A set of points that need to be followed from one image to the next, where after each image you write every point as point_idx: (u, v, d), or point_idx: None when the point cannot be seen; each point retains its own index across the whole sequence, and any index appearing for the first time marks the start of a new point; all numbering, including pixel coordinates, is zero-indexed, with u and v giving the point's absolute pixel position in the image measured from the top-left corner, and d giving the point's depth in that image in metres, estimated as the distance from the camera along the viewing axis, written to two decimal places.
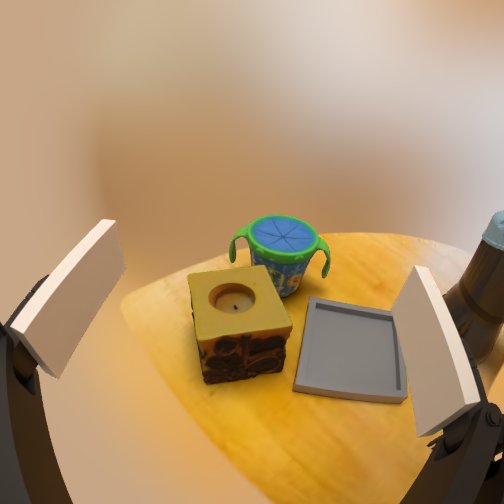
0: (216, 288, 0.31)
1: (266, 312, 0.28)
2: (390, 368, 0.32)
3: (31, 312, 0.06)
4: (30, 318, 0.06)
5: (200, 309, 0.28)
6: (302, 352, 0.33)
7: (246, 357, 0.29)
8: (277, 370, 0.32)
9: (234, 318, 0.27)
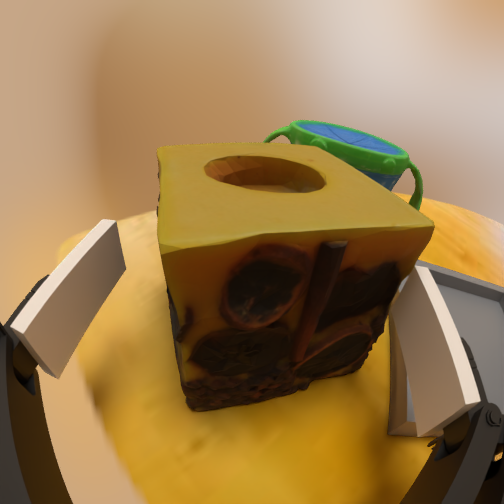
0: (223, 163, 0.12)
1: (363, 197, 0.10)
2: None
3: (31, 312, 0.06)
4: (30, 318, 0.06)
5: (182, 182, 0.09)
6: None
7: (310, 334, 0.10)
8: (354, 368, 0.14)
9: (286, 200, 0.09)
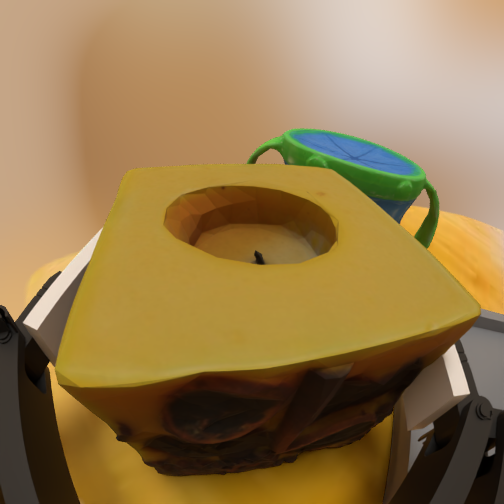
0: (200, 197, 0.09)
1: (389, 265, 0.07)
2: None
3: (45, 308, 0.07)
4: (44, 314, 0.06)
5: (124, 240, 0.06)
6: None
7: (293, 438, 0.07)
8: (352, 441, 0.10)
9: (266, 283, 0.06)
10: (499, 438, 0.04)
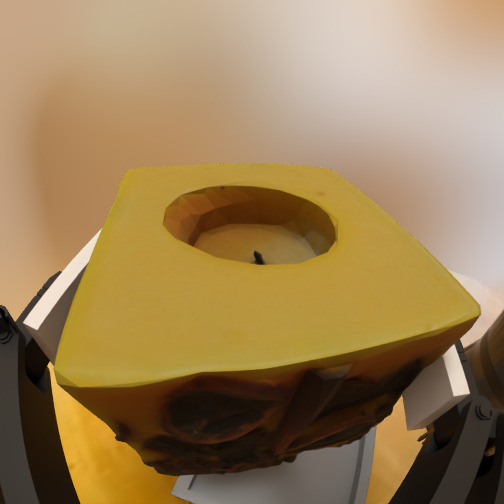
0: (199, 197, 0.09)
1: (388, 266, 0.07)
2: (344, 482, 0.16)
3: (45, 308, 0.07)
4: (44, 314, 0.06)
5: (123, 240, 0.06)
6: None
7: (292, 438, 0.07)
8: (352, 441, 0.10)
9: (265, 283, 0.06)
10: (499, 439, 0.04)
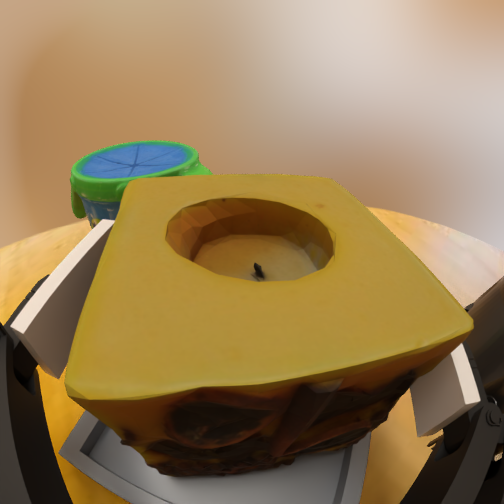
0: (201, 209, 0.10)
1: (383, 282, 0.07)
2: (324, 475, 0.11)
3: (31, 312, 0.06)
4: (30, 318, 0.06)
5: (127, 256, 0.07)
6: None
7: (289, 443, 0.07)
8: (348, 445, 0.10)
9: (263, 301, 0.06)
10: None
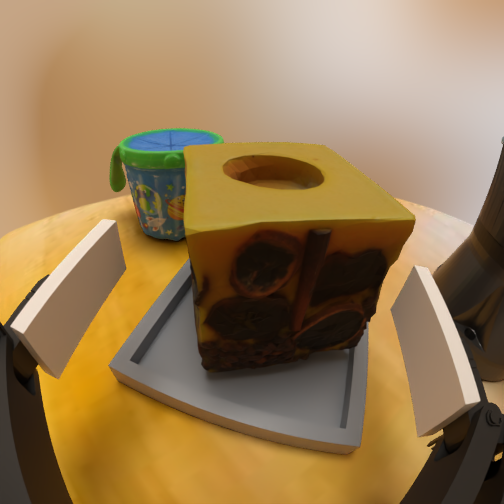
0: (239, 161, 0.15)
1: (354, 193, 0.12)
2: (334, 377, 0.16)
3: (31, 312, 0.06)
4: (30, 318, 0.06)
5: (203, 180, 0.12)
6: (147, 314, 0.17)
7: (305, 306, 0.12)
8: (350, 344, 0.16)
9: (285, 196, 0.11)
10: None
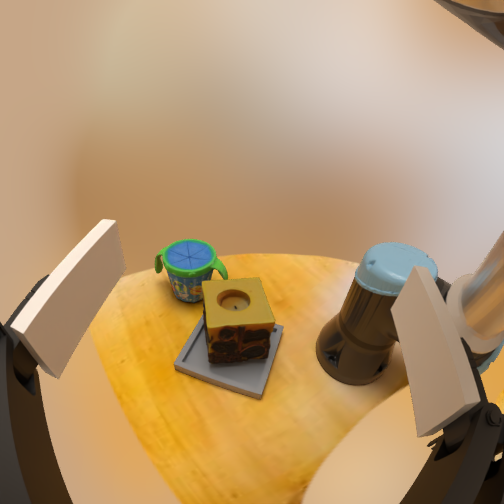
0: (222, 293, 0.43)
1: (257, 311, 0.40)
2: (258, 369, 0.44)
3: (31, 312, 0.06)
4: (30, 318, 0.06)
5: (210, 306, 0.40)
6: (186, 343, 0.45)
7: (241, 343, 0.40)
8: (264, 357, 0.44)
9: (234, 314, 0.39)
10: None
